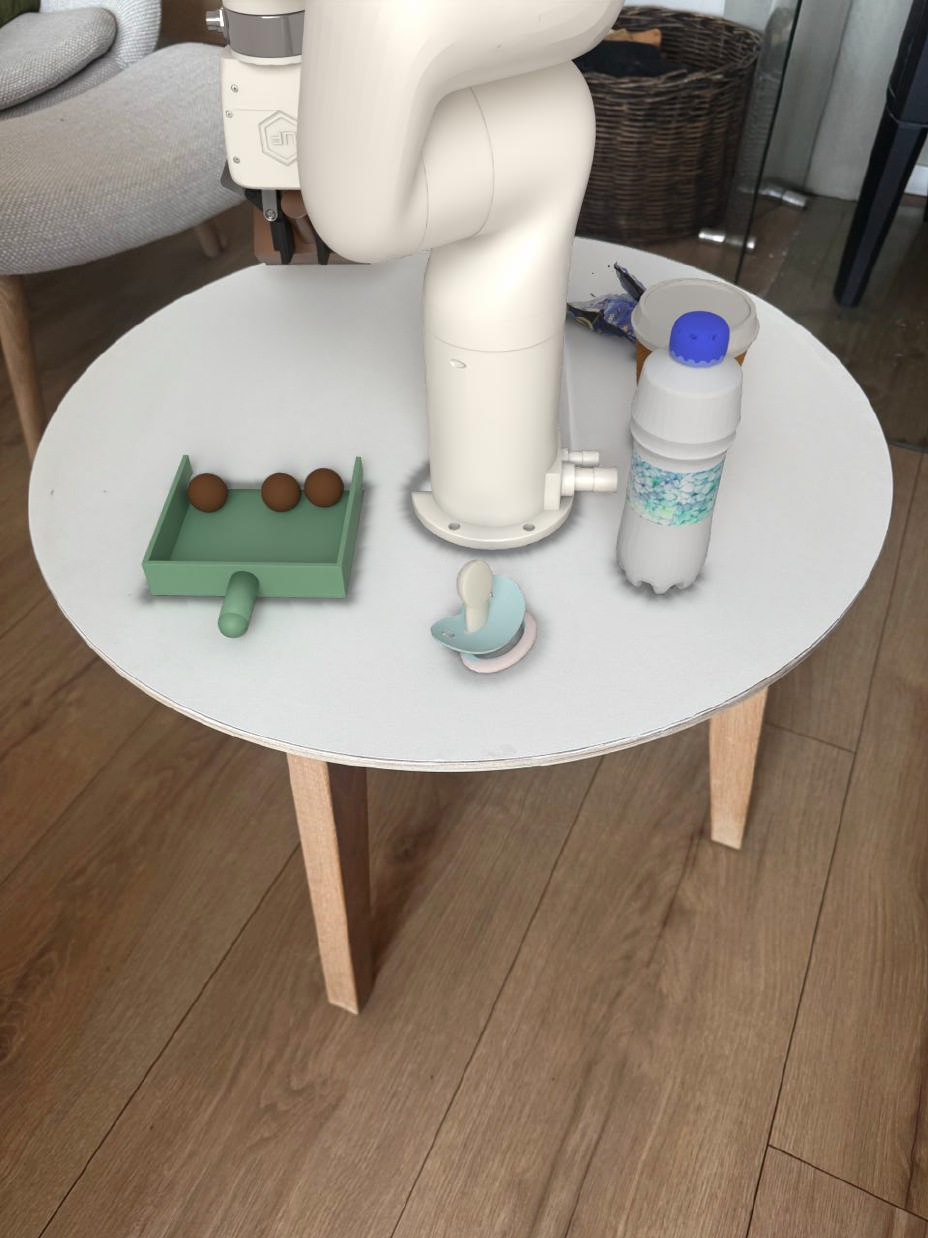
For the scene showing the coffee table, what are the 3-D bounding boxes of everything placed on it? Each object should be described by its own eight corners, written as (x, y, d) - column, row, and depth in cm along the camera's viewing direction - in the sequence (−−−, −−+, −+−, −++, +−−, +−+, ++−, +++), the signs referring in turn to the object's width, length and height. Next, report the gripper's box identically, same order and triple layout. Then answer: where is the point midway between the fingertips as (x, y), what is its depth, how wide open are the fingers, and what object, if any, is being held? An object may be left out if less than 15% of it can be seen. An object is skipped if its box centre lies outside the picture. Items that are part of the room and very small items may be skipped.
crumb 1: (231, 468, 76) (198, 468, 73) (239, 506, 76) (206, 508, 73) (208, 478, 78) (176, 478, 75) (216, 515, 78) (183, 517, 75)
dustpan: (191, 486, 79) (183, 454, 76) (364, 488, 78) (361, 456, 76) (133, 649, 67) (120, 616, 64) (337, 652, 66) (331, 620, 64)
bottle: (701, 542, 73) (755, 290, 59) (708, 607, 69) (768, 350, 54) (610, 537, 74) (641, 286, 59) (610, 601, 69) (644, 345, 55)
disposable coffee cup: (596, 448, 81) (609, 314, 73) (650, 393, 87) (668, 263, 78) (702, 489, 78) (730, 353, 69) (752, 429, 83) (783, 296, 74)
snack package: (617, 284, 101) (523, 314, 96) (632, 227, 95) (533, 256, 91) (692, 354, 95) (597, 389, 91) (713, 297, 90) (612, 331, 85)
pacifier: (555, 628, 68) (484, 589, 70) (563, 561, 63) (486, 523, 65) (492, 695, 64) (419, 652, 66) (496, 629, 59) (417, 586, 61)
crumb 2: (288, 483, 78) (315, 489, 76) (270, 515, 77) (296, 522, 75) (265, 461, 75) (292, 468, 74) (246, 494, 75) (272, 501, 73)
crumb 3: (345, 511, 75) (310, 518, 76) (352, 486, 77) (318, 492, 78) (330, 482, 73) (293, 489, 74) (337, 456, 75) (302, 463, 76)
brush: (372, 219, 94) (357, 175, 84) (372, 266, 94) (357, 228, 84) (263, 220, 94) (234, 176, 84) (264, 267, 95) (235, 229, 84)
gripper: (159, 44, 73) (208, 277, 87) (377, 44, 73) (393, 279, 86) (183, 13, 78) (225, 238, 92) (387, 13, 78) (400, 239, 91)
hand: (306, 256), depth 89 cm, fingers closed on brush, 2 cm apart
